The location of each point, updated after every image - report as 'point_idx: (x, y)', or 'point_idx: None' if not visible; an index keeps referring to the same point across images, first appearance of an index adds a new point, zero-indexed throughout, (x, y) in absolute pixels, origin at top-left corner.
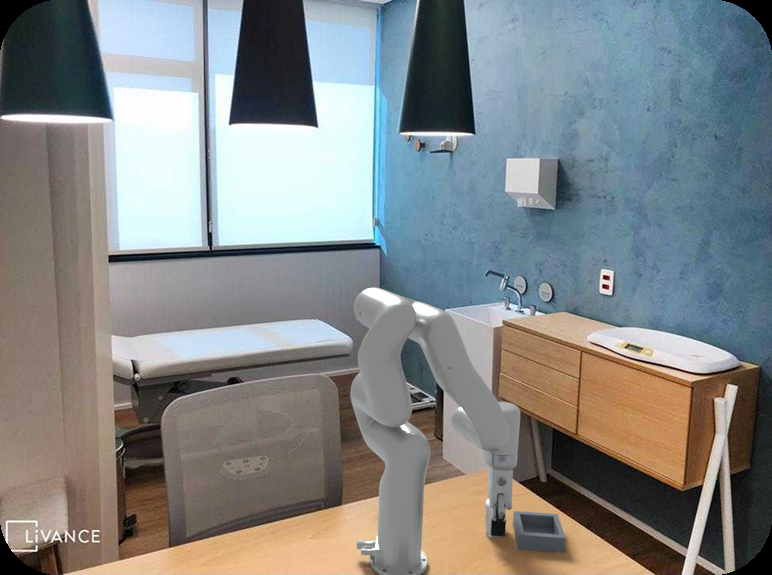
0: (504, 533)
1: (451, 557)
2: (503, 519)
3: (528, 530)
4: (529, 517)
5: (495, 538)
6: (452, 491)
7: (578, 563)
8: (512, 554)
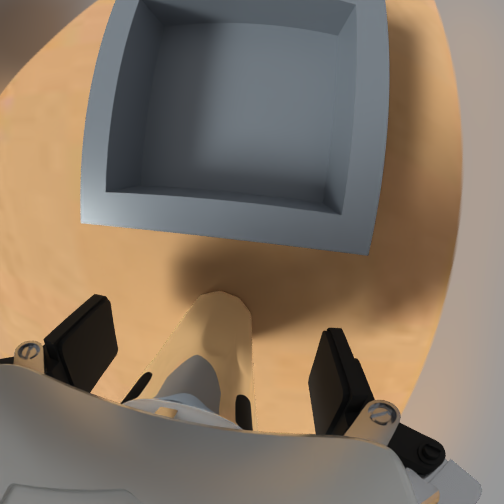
0: (343, 338)
1: None
2: (424, 436)
3: (186, 140)
4: (120, 126)
5: (250, 315)
6: None
7: (419, 21)
8: (376, 267)
